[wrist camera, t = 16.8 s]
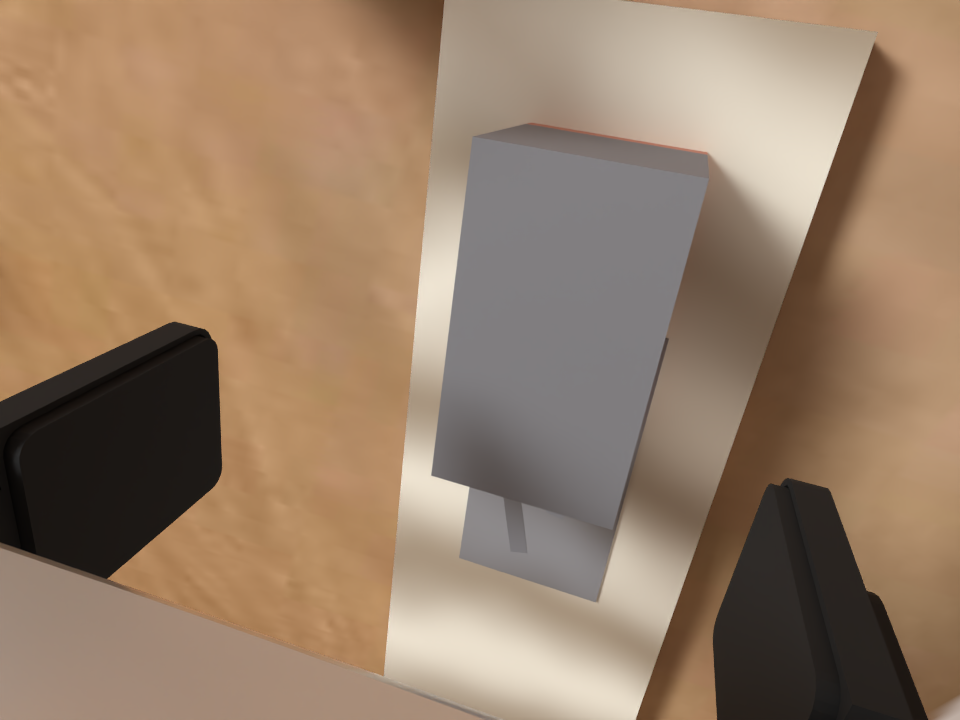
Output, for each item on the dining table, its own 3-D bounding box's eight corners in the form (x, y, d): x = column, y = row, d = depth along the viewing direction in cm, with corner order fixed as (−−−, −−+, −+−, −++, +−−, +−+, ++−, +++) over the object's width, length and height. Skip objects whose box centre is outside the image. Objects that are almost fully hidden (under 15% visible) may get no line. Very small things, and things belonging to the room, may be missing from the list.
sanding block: (632, 429, 20) (612, 530, 15) (489, 391, 21) (431, 475, 16) (707, 152, 16) (709, 178, 12) (531, 122, 17) (472, 137, 13)
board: (621, 742, 27) (617, 772, 26) (395, 659, 29) (382, 683, 28) (866, 34, 15) (879, 31, 14) (461, -16, 18) (444, -22, 16)
